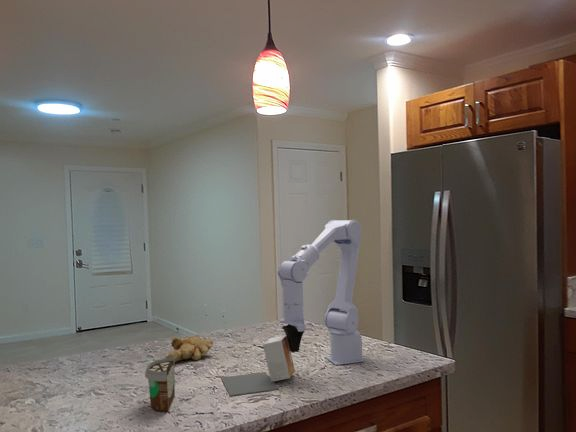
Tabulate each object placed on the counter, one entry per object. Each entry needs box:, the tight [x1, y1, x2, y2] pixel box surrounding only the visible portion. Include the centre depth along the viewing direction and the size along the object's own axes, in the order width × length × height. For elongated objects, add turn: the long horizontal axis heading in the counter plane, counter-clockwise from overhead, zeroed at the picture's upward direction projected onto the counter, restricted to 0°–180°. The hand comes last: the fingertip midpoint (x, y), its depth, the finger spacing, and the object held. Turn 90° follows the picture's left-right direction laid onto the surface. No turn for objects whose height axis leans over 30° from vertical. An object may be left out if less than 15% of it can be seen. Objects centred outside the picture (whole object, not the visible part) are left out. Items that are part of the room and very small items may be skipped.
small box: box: [262, 334, 296, 382], centre depth 132 cm, size 8×6×10 cm
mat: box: [220, 371, 280, 397], centre depth 129 cm, size 13×14×1 cm
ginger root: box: [165, 336, 214, 362], centre depth 155 cm, size 16×16×8 cm
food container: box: [144, 357, 176, 413], centre depth 116 cm, size 12×6×10 cm, turn 5°
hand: (294, 351), depth 133 cm, fingers closed
